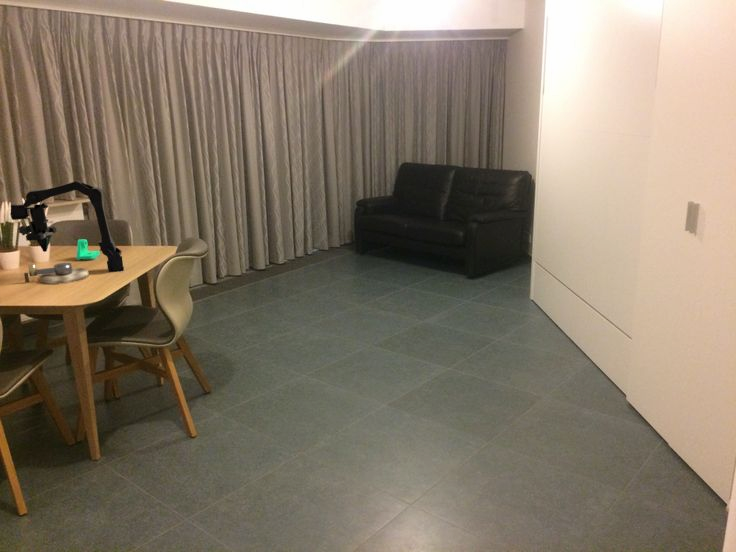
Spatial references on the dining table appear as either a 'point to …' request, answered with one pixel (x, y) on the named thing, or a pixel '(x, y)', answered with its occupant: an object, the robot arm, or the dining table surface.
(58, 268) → the knob
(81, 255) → the camera mount
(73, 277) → the leveling base
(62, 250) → the dining table surface
